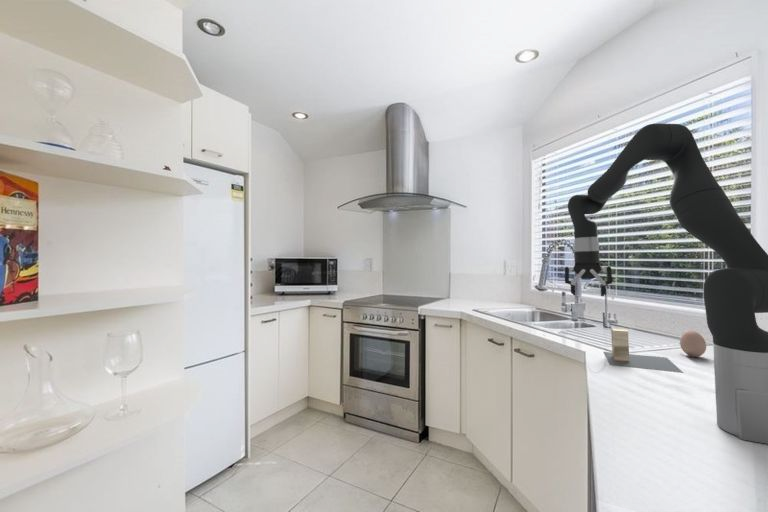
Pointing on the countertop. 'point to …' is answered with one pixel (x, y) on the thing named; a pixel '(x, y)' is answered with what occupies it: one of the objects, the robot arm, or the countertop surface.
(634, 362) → the rubber mat
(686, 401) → the countertop surface
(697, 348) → the egg
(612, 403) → the countertop surface
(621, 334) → the birch block
